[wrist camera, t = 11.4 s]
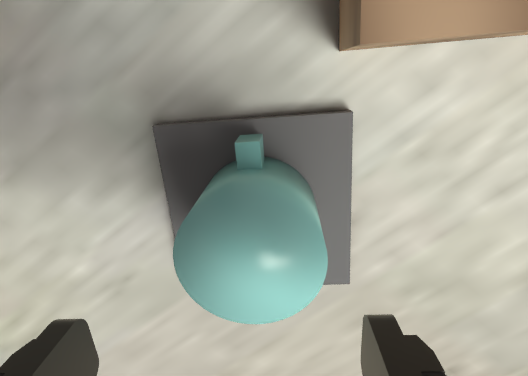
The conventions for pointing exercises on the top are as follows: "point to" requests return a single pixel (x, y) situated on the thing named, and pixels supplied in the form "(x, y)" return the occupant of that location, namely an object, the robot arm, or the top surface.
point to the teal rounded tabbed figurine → (252, 240)
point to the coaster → (275, 146)
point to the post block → (427, 21)
